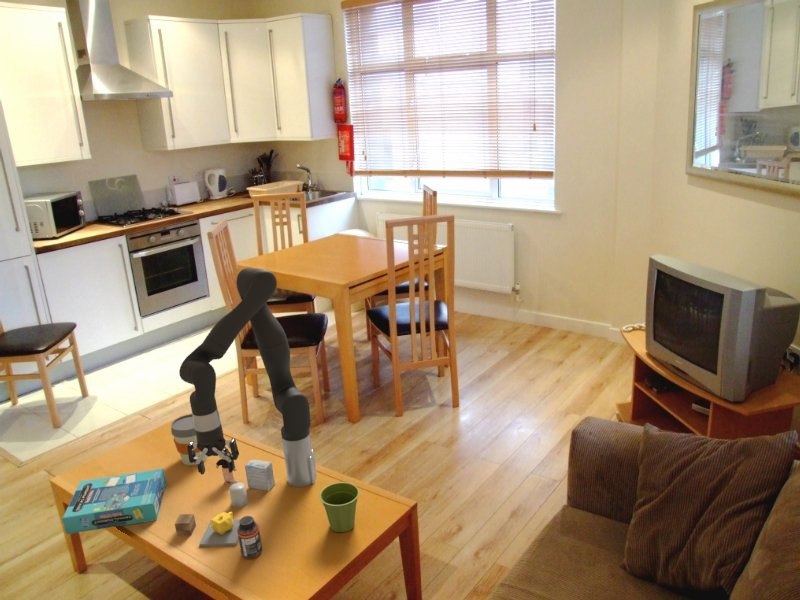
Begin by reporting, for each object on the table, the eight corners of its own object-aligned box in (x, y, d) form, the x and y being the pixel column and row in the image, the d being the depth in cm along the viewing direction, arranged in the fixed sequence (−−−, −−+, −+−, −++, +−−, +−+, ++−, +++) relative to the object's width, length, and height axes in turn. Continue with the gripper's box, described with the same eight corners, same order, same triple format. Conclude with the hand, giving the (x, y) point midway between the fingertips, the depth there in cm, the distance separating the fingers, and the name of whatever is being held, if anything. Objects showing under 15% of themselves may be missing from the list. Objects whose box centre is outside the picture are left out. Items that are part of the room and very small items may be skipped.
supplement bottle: (243, 547, 194) (237, 514, 190) (263, 544, 194) (258, 512, 190) (240, 561, 188) (234, 527, 184) (261, 558, 188) (255, 525, 185)
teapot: (219, 542, 195) (217, 527, 194) (207, 534, 199) (204, 520, 197) (241, 527, 201) (238, 512, 199) (229, 520, 205) (226, 506, 203)
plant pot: (348, 542, 192) (345, 509, 189) (315, 531, 198) (311, 499, 194) (370, 519, 202) (367, 487, 198) (337, 509, 208) (334, 478, 204)
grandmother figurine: (241, 478, 227) (236, 446, 223) (238, 485, 224) (232, 452, 220) (220, 479, 228) (214, 446, 224) (216, 485, 225) (210, 452, 221)
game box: (167, 483, 228) (84, 496, 224) (163, 467, 225) (80, 480, 222) (157, 520, 208) (66, 535, 205) (153, 503, 206) (61, 518, 203)
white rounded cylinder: (249, 498, 216) (246, 482, 215) (245, 507, 212) (242, 491, 210) (234, 498, 217) (231, 482, 215) (230, 508, 212) (227, 492, 210)
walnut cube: (196, 526, 205) (193, 513, 203) (191, 535, 200) (188, 523, 199) (182, 526, 205) (179, 514, 204) (177, 535, 201) (174, 523, 199)
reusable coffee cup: (186, 449, 249) (179, 413, 244) (218, 449, 247) (212, 413, 242) (171, 467, 237) (163, 430, 232) (204, 468, 235) (197, 431, 231)
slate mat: (246, 521, 205) (245, 519, 205) (236, 545, 195) (236, 542, 194) (211, 522, 206) (210, 520, 205) (199, 546, 195) (199, 544, 195)
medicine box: (275, 484, 223) (272, 461, 220) (268, 491, 219) (265, 468, 216) (254, 480, 226) (251, 458, 223) (248, 488, 222) (244, 465, 219)
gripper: (235, 416, 196) (243, 463, 201) (187, 419, 197) (197, 466, 202) (228, 429, 189) (237, 478, 194) (179, 432, 189) (189, 481, 195)
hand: (217, 472), depth 198 cm, fingers open, 8 cm apart
